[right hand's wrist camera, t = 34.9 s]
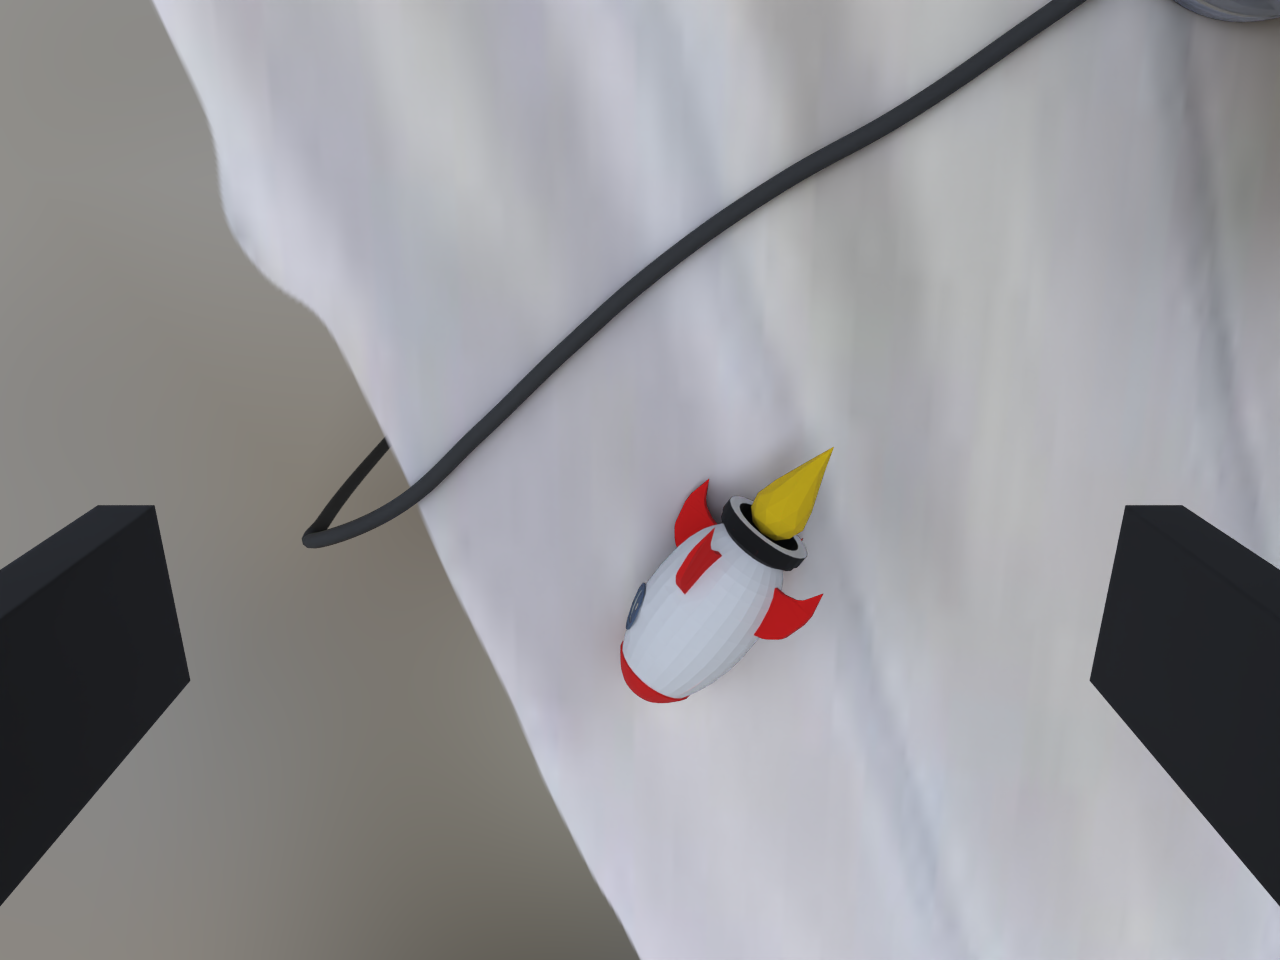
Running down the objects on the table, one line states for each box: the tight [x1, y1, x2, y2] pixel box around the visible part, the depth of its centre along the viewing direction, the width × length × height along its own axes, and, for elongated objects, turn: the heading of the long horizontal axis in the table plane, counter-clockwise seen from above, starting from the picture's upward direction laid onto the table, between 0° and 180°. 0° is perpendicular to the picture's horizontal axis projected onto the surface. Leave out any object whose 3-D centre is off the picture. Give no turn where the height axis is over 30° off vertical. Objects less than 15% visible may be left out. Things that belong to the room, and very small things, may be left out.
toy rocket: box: [620, 447, 834, 703], centre depth 53 cm, size 9×10×20 cm
